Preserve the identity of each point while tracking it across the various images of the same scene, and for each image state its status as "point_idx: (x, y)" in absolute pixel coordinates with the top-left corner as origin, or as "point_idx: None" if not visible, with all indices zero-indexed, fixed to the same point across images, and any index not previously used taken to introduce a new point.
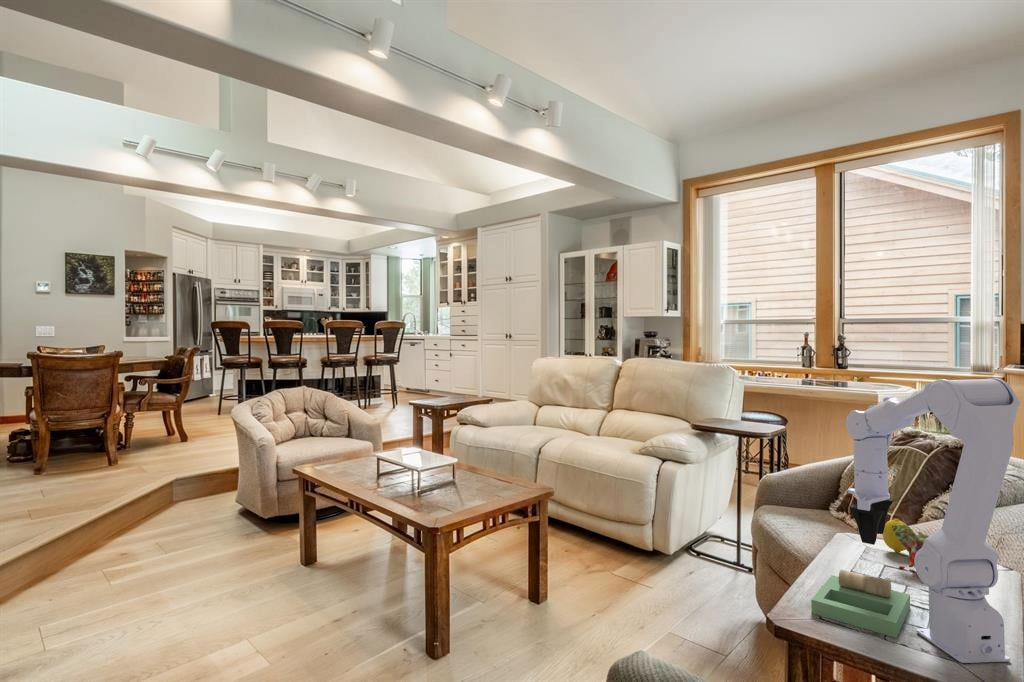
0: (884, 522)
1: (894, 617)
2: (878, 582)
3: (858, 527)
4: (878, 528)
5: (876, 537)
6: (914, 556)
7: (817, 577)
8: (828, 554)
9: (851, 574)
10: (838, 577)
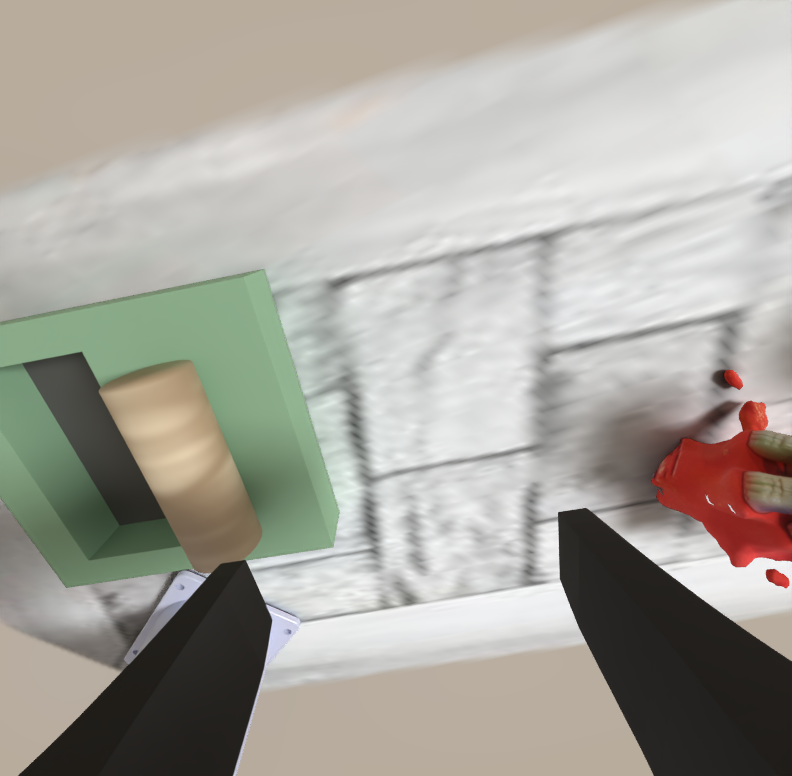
0: (624, 709)
1: (100, 574)
2: (180, 540)
3: (89, 707)
4: (580, 601)
5: (254, 688)
6: (727, 489)
7: (322, 154)
8: (750, 3)
9: (132, 447)
10: (247, 313)
